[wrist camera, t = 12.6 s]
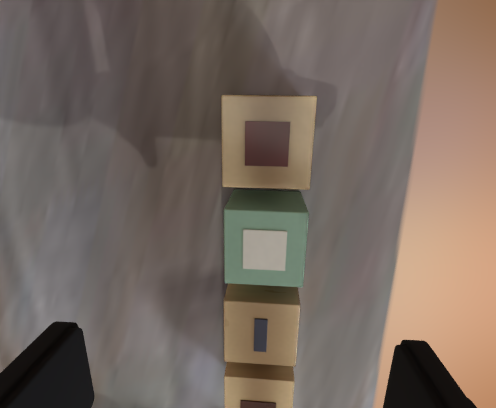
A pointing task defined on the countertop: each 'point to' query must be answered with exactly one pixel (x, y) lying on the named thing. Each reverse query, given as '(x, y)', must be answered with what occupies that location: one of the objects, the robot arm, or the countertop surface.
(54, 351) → the robot arm
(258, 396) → the block
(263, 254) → the block
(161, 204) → the countertop surface
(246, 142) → the block
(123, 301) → the countertop surface
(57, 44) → the countertop surface
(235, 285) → the block
